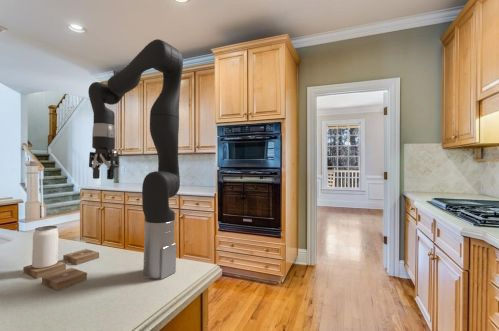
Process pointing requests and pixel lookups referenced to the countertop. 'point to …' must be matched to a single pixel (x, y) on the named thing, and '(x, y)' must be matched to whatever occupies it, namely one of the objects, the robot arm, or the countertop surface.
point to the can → (45, 247)
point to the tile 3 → (81, 256)
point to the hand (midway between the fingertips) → (103, 179)
